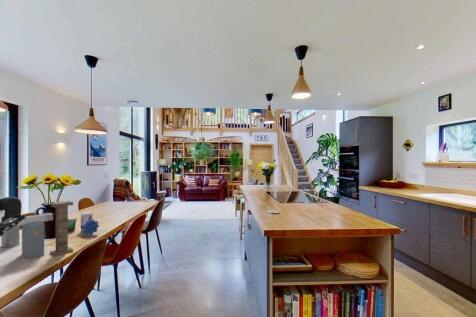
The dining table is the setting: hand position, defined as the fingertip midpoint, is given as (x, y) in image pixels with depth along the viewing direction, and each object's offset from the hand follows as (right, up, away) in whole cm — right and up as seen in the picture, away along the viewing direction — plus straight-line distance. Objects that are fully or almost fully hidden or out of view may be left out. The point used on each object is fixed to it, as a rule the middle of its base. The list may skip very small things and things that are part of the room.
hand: (22, 215), depth 149 cm
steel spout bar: (+3, -5, +4) cm, 7 cm away
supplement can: (+5, -26, +55) cm, 61 cm away
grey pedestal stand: (+18, -25, +8) cm, 32 cm away
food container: (-10, -26, +54) cm, 60 cm away
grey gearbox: (+3, -25, +4) cm, 26 cm away
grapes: (+15, -26, +45) cm, 54 cm away
